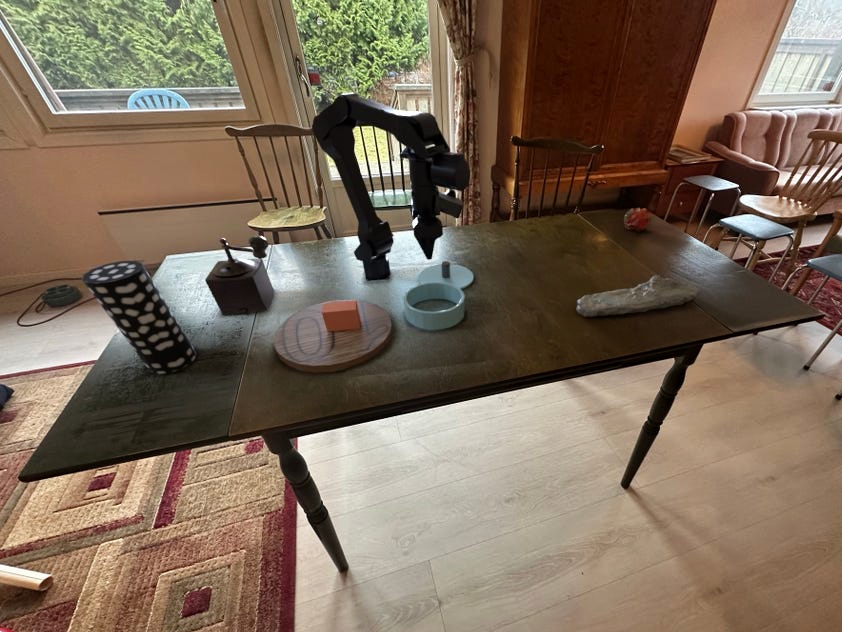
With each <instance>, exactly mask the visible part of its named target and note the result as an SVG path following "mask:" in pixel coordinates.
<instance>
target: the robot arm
mask: <svg viewBox="0 0 842 632" xmlns="http://www.w3.org/2000/svg"><path fill="white" fill-rule="evenodd" d="M359 122H361V123H364V124H365V125H368V126H370V127H371V126H372V127H373V128H377V129H379V130H382V131H384V132H387V133H389V134H391V135H392V136H393V137H394V138H395V140H396V141H397V142H398V143H400V144H401V145H402V146H405V147H404V148H403V150H401V152H400V153H399V154H398V156H399V158H400V159H406V160H407V162H408V173H409V182H410V197H411V200H410V207H411V215H412V218H413V221H412V229H413V237H414V238H415V239H416V241H417V243H418V245H419V247H420V249H421V250H422V252H423V255H424V256H425V258H426V260H429V261H430V260H432V259H433V254H434V249H435V244H436V241H437V239H440V238H441V237H442V236H444V228H443V227H444V226H443V222H442V220H441V219H439V217H437V216H441V213H442V214H445V215H447V216H451V217H453V218H454V219H459V218H460V216H461V215H462V214H461V213H462V211H463V208H464V203H463V200H462V199H461V198H460V197H457V193H456V191H459V192H464V191H465V190H466V189H467V188H468V186H469V183H470V180H471V169H470V166H469V163H468V161H467V160H465V159H466V157H465V155H466V154H465V153H463V152H451V148H450V146H449V144H448V142H447V140H446V139H445V137H444V135H443V132H442V131H441V130H440V127H439V123H438V121H437V118H436V116H435V115H434V114H432V113H431V112H424V111H417V110H416V111H411V110H409V111H406V110H399V109H396V108H393V107H391V106H388V105H385V104H383V103H380V102H377V101H374V100H372V99H368V98H366V97H363V96H361V95H359V94H358V93H356V92H349V93H340V94H339V95H338V96H337V97H336V98H335V99H334V100H333V101H332V102H331V104H329V105H328V106H327V107H325V108H324V109H323V110H322V111H320V112H319V114H318V115H314V117H313V120H312V125H311V130H312V133H313V135H314V137H315V140H316V141H317V143H318V145H319V146H320V148H321V150H322V151H323V153H325V154H326V155H327V156H329V158H330V159H331V160H332V161H333V163H334V165H335V168H336V170H337V172H338V175H339V177H340V178H339V179H340V180H341V182H342V185H343V187H344V191H345V192H346V195H347V198H348V200H349V202H350V205H351V207H352V209H353V212H354V215H355V217H356V219H357V223H358V224H357V233H356V235H357V239H358V242H359V244H358V246H357V247H356V248H355V250H353V254H354V256H355V259H356V260H357V261H360V262H362V266H363V271H364V276H365V277H364V281H365V282H372V281H373V282H374V281H385V280H389V279H390V276H391V266H390V265H391V264H390V259H389V258H388V257H387V254H390V253H391V252H392V248H393V244H394V233H393V231H392V230H391V226H390V223H389V222H388V220H385V221H384V220H382V219H381V218H380V217H379V216H378V215H377V212H376V209H375V207H374V203H373V201H372V199H371V196H370V193H369V190H368V188H367V186H366V185H367V184H366V183H365V180H364V178H363V174H362V172H361V169H360V166H359V164H358V161H357V159H356V156H355V148H356V147H355V145H356V137H355V134H354V130H355V129H356V127H357V126H358V125H359ZM439 187H440V188H444V189H447V190H446V191H445V192H440V189H439Z"/></svg>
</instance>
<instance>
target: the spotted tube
mask: <svg viewBox="0 0 842 632" xmlns="http://www.w3.org/2000/svg"><path fill="white" fill-rule="evenodd" d="M81 281H82V282H83V283H84V285H85V286H86V288H87V289H88V290H89V291H90V293H91V294H92V295H93V297H94V298H95V299H96V301H97V302H98V303H99V305H100V306H101V307H102V309H103V310H104V311H105V313H106V314H107V315H108V317H109V318H110V320H111V321H112V322H113V323H114V325H115V326H116V328H117V329H118V330H119V332H120V333H121V334H122V336H123V337H124V338H125V339H126V341H127V342H128V344H129V345H130V346H131V348H132V349H133V350H134V352H135V353H136V355H137V356H138V357H139V358H140V360H141V361H142V363H143V364H144V365H145V366H146V368H147V369H148V371H149V372H150V373H153V374H157V375H158V374H159V375H163V374H169V373H174V372H177V371H180V370H182V369H184V368H186V367H187V366H189V365H190V364H192V363H193V362H194V360H196V358H197V355H198V354H197V352H196V349H195V348H194V346H193V344H192V343H191V341H190V339H189V338H188V336H187V335H186V333H185V332H184V330H183V328H182V326H181V325H180V323H179V321H178V320H177V318H176V317H175V315H174V314H173V311H172V310H171V309H170V306H169V305H168V303H167V302H166V300H165V298H164V297H163V295H162V294H161V292H160V291H159V289H158V287H157V286H156V284H155V282H154V281H153V279H152V278H151V275H150V274H149V273H148V271H147V269H146V268H145V266H144V265H143V263H142V262H140V261H137V260H121V261H114V262H110V263H105V264H102V265H98V266H97V267H93V268H92V269H90V270H88V271H86V272H85V273H84V274H83V275H82V276H81Z"/></svg>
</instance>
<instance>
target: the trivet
mask: <svg viewBox="0 0 842 632" xmlns="http://www.w3.org/2000/svg"><path fill="white" fill-rule="evenodd" d="M354 300H356V301H357V305H358V309H359V314H360V318H361V319H360V329H350V330H339V331H329V332H327V329H326V326H325V322H324V319H323V316H322V309H323V304H324V303H330V302H342V301H354ZM392 333H393V324H392V320H391V317H390V315H389V313H388V312H387V311H386V310H385V309H384V308H382V307H381V306H378V305H377V304H375V303H372V302H369V301H366V300H359V299H336V300H329V301H328V300H327V301H324V302H320V303H316V304H313V305H310V306H307V307H305V308H303V309H300V310H298V311H297V312H295V313H293V314H291V316H288V317H287V318H286V319H285V320H284V321H283V322H282V323H281V324H280V325H278V327H277V329H276V331H275V332H274V335H273V346H274V348H275V351H276V353H277V355H278V358H279V359H280V360H281V362H283V364H286V366H288V367H290V368H293V369H294V370H297V371H300V372H308V373H315V374H317V373H318V374H319V373H335V372H339V371H345V370H347V368H350V367H353V366H355V365H358V364H361V363H363V362H365V361H367V360H368V359H370V358H372V357H374V356H376V355H377V354H378V353H379V352H380V351H382V350H383V348H385V347H386V346H387V344H388V342H389V341H390V339H391V338H392Z"/></svg>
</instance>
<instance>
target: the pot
mask: <svg viewBox="0 0 842 632" xmlns="http://www.w3.org/2000/svg"><path fill="white" fill-rule="evenodd" d="M402 298H403V307H404V314H405V319H406V320H407V321H408V323H409V324H411V325H412V326H415V327H417V328H419V329H423V330H427V331H428V330H429V331H438V330H445V329H448V328H451V327H453V326H455V325H458V324H459V323H460V322H461V321H462V320H463V319H464V317H465V313H466V297H465V292H464V291H463V289H460V288H459V287H457V286H455V285H452V284H449V283H445V282H427V283H422V284H420V283H419V284H416V285H413V286H411V287H410V288H409V289H407V291H405V292H404V295H403V297H402ZM434 299H440V300H446V301H450V302H453V303H455V305H454V306H452V307H451V308H447V309H444V310H438V311H437V310H436V311H427V310H422V309H418V308H416V307H414V306H415V305H416V304H418V303H420V302H423V301H426V300H434Z"/></svg>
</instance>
